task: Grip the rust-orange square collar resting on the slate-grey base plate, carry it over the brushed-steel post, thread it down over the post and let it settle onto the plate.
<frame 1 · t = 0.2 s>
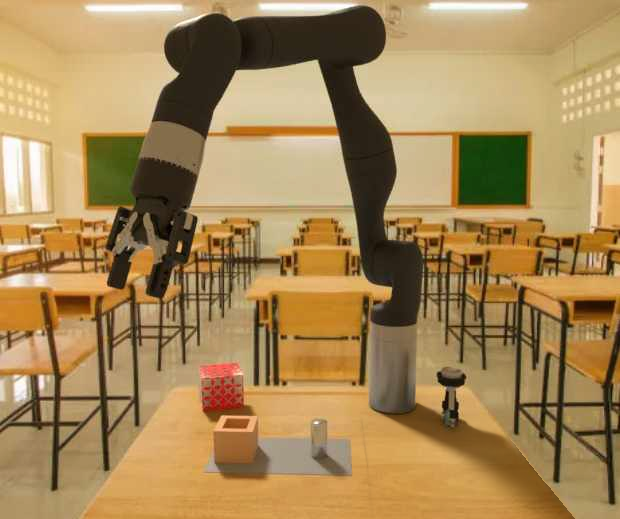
hand: (133, 292, 68), 31 cm above the table, tool tilted 20°, fingers open, 8 cm apart
push button: (450, 423, 104), on the table
red white patterned cube: (221, 409, 111), on the table
steel post: (318, 464, 88), resting on base plate
collar: (236, 453, 89), point 1 cm above the table, touching base plate
base plate: (280, 463, 88), on the table
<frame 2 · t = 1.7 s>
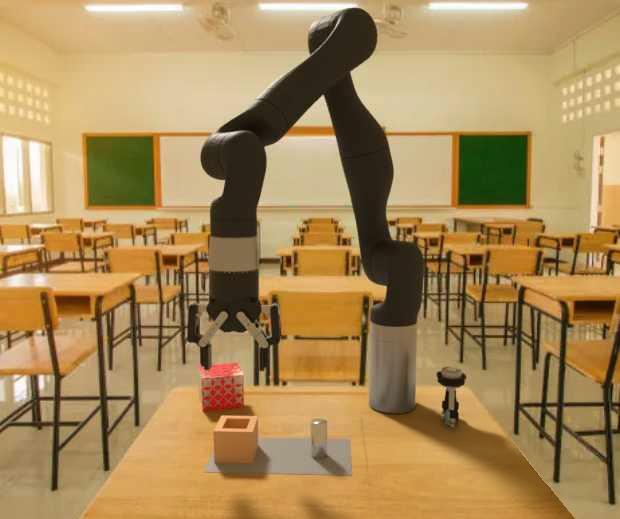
hand: (235, 369, 87), 15 cm above the table, tool pointing down, fingers open, 8 cm apart
nothing on the table moved.
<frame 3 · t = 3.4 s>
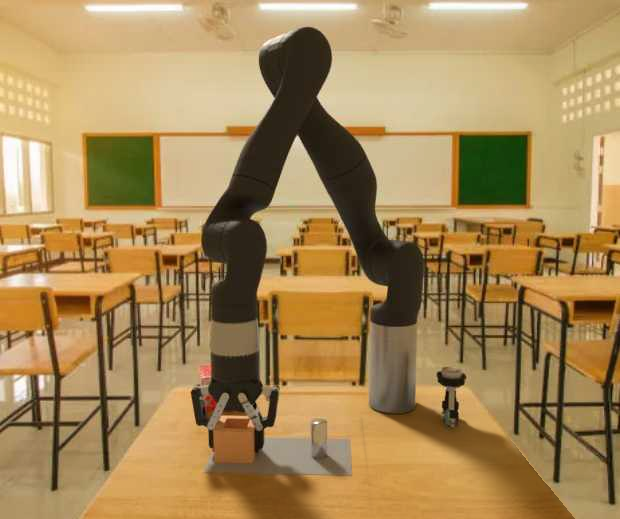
hand: (236, 449, 89), 2 cm above the table, tool pointing down, fingers closed on collar, 6 cm apart
collar: (236, 453, 89), point 2 cm above the table, touching base plate, gripper
everything else where it was.
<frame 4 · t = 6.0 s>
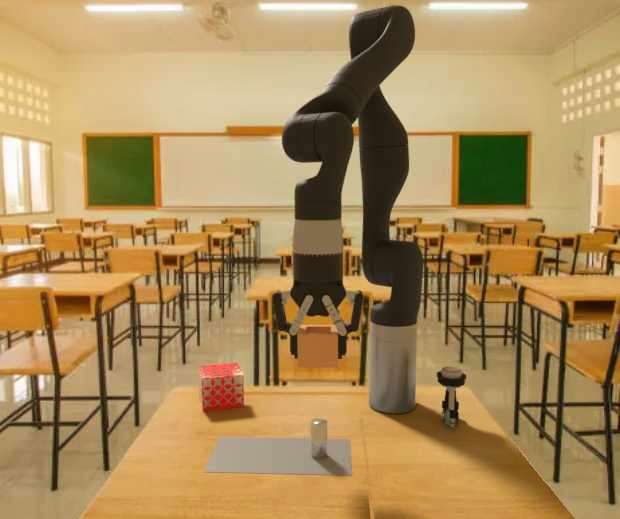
hand: (318, 357, 86), 17 cm above the table, tool pointing down, fingers closed on collar, 6 cm apart
collar: (318, 361, 86), point 17 cm above the table, touching gripper
everything else where it was.
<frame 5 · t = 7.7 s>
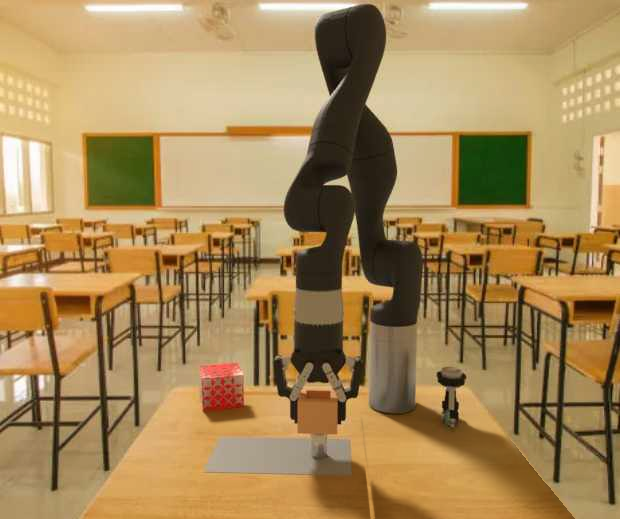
hand: (317, 421, 87), 7 cm above the table, tool pointing down, fingers closed on collar, 6 cm apart
collar: (318, 425, 87), point 6 cm above the table, touching gripper
everything else where it was.
when the fingers open (3 cm above the table, at t = 9.0 s): collar stays where it is, resting on base plate.
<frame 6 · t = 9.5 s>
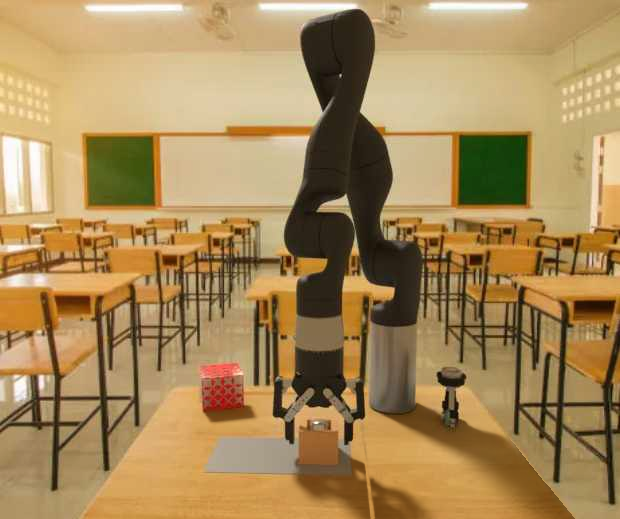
hand: (318, 442, 88), 4 cm above the table, tool pointing down, fingers open, 8 cm apart
collar: (318, 455, 88), point 1 cm above the table, touching base plate
everything else where it was.
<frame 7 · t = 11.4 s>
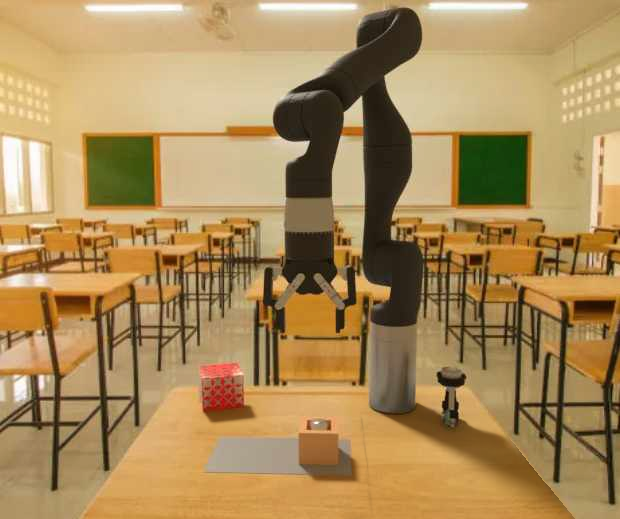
hand: (310, 332, 87), 21 cm above the table, tool pointing down, fingers open, 8 cm apart
nothing on the table moved.
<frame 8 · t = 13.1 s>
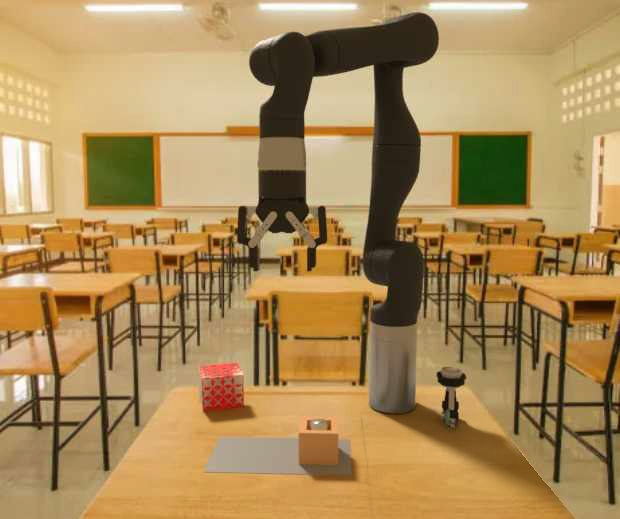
hand: (282, 270, 90), 30 cm above the table, tool pointing down, fingers open, 8 cm apart
nothing on the table moved.
at the end: collar 0.0 cm from the steel post (horizontally); collar point 1.5 cm above the table; the gripper is holding nothing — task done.
